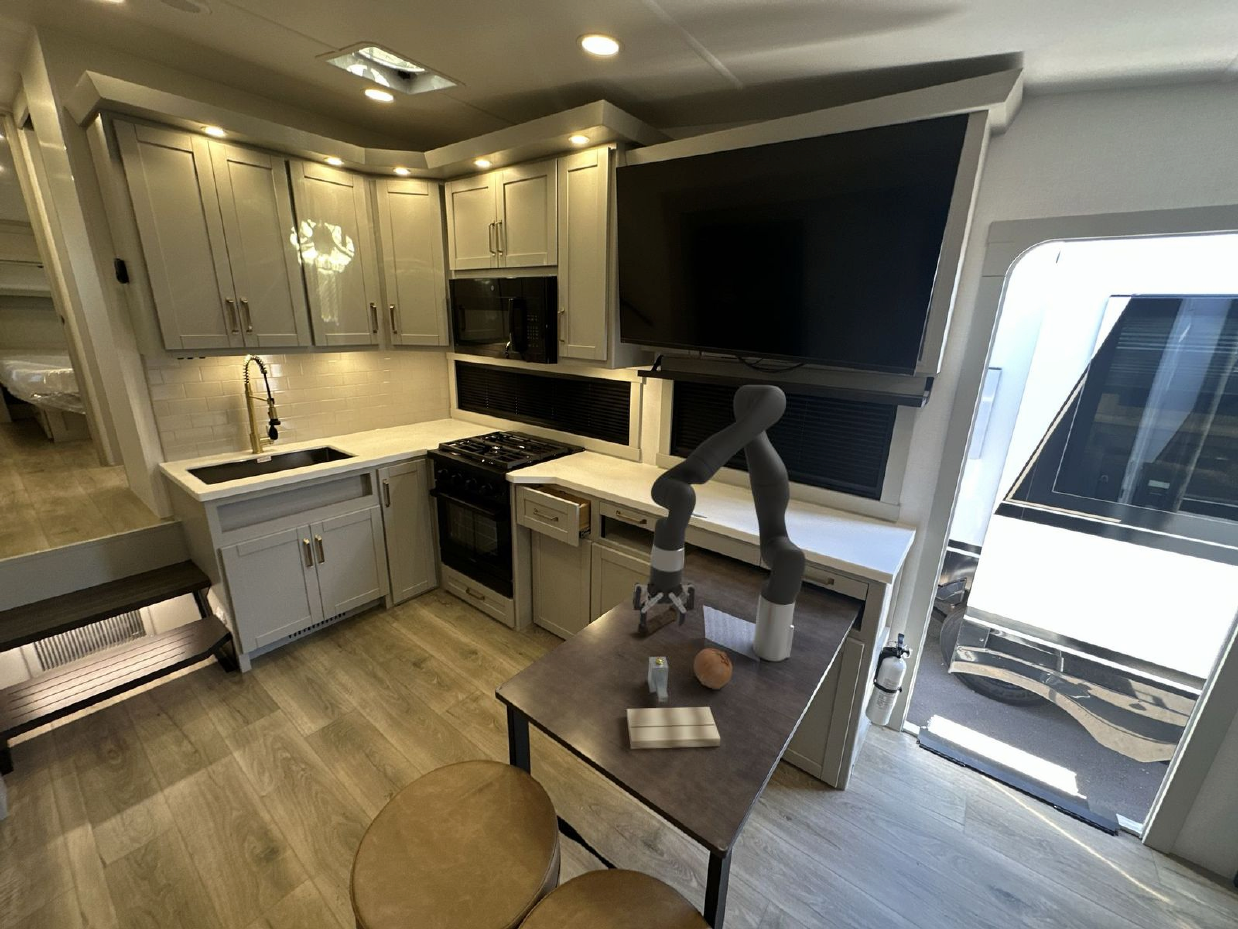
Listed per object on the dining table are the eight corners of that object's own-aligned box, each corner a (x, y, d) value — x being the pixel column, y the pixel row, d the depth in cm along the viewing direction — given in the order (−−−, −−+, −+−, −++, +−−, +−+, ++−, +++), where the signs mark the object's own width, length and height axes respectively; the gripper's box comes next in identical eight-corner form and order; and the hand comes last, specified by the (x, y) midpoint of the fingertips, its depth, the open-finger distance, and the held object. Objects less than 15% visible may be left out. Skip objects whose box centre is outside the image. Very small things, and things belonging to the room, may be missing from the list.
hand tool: (646, 640, 140) (647, 625, 138) (636, 633, 142) (637, 619, 141) (690, 617, 152) (691, 604, 151) (680, 611, 155) (681, 598, 153)
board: (708, 714, 113) (709, 706, 113) (719, 746, 104) (720, 738, 104) (626, 716, 111) (627, 708, 111) (631, 749, 103) (631, 741, 102)
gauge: (663, 680, 123) (665, 654, 121) (670, 710, 114) (673, 682, 112) (647, 681, 123) (649, 654, 121) (653, 711, 113) (656, 682, 111)
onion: (724, 692, 125) (746, 664, 122) (706, 702, 117) (729, 672, 115) (698, 662, 130) (719, 635, 127) (679, 670, 123) (701, 641, 120)
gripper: (693, 555, 117) (687, 615, 121) (634, 554, 115) (630, 615, 120) (701, 570, 110) (694, 633, 114) (638, 569, 108) (633, 633, 112)
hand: (661, 624), depth 117 cm, fingers open, 8 cm apart
